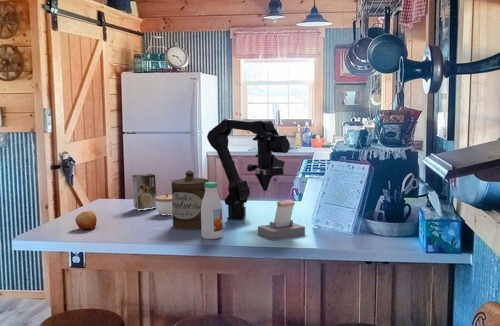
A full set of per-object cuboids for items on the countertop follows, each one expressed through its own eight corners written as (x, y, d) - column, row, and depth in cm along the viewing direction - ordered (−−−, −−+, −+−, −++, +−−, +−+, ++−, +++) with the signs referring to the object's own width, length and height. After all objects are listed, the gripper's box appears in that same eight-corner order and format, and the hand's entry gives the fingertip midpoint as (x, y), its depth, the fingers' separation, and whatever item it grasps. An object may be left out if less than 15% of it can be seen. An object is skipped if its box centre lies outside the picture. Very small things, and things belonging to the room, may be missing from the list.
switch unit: (258, 234, 198) (257, 221, 198) (289, 229, 205) (289, 216, 205) (272, 240, 190) (272, 226, 189) (304, 234, 197) (304, 221, 196)
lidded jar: (151, 214, 238) (150, 193, 237) (172, 210, 244) (171, 190, 243) (162, 218, 229) (161, 196, 228) (184, 214, 236) (183, 193, 234)
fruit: (104, 222, 216) (97, 207, 211) (94, 236, 210) (87, 221, 206) (87, 221, 219) (79, 206, 214) (77, 235, 213) (69, 220, 208)
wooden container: (166, 228, 210) (164, 172, 208) (183, 220, 224) (181, 168, 222) (200, 231, 205) (198, 173, 203) (216, 222, 219) (214, 169, 217)
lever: (272, 225, 196) (277, 201, 193) (286, 223, 199) (291, 199, 196) (276, 229, 195) (280, 204, 191) (289, 226, 198) (294, 202, 194)
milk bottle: (206, 240, 191) (205, 185, 188) (198, 236, 197) (196, 182, 195) (226, 237, 194) (225, 183, 192) (217, 233, 201) (216, 180, 199)
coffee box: (152, 206, 254) (151, 173, 252) (157, 209, 249) (155, 174, 247) (133, 209, 249) (132, 174, 248) (137, 211, 244) (136, 176, 242)
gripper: (294, 152, 210) (295, 191, 212) (269, 149, 226) (269, 185, 228) (270, 154, 204) (271, 194, 206) (246, 150, 220) (247, 188, 222)
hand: (265, 190), depth 216 cm, fingers closed
